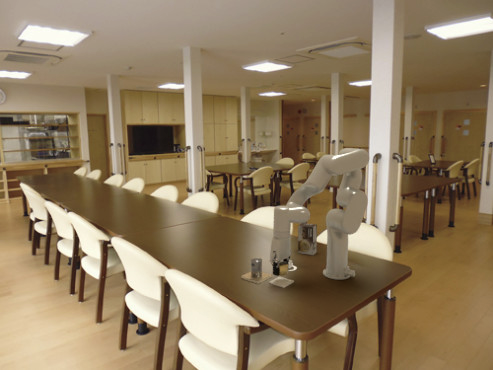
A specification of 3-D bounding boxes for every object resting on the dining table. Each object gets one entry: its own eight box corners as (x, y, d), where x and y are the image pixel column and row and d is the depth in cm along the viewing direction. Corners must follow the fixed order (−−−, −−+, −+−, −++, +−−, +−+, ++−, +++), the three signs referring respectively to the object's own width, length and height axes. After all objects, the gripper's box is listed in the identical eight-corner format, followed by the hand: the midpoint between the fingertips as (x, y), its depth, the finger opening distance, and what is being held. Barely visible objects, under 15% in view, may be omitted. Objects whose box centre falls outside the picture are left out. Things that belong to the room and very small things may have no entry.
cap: (283, 269, 161) (284, 259, 161) (290, 274, 155) (290, 263, 155) (271, 271, 159) (271, 260, 158) (277, 276, 153) (277, 265, 153)
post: (271, 277, 164) (271, 259, 163) (258, 284, 156) (258, 265, 155) (254, 271, 170) (254, 255, 169) (241, 278, 163) (241, 260, 162)
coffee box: (316, 252, 199) (317, 224, 196) (312, 255, 193) (313, 227, 191) (301, 249, 203) (302, 222, 201) (297, 252, 198) (297, 225, 196)
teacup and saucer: (287, 264, 182) (287, 256, 181) (300, 267, 177) (300, 259, 176) (277, 269, 175) (277, 261, 174) (291, 273, 170) (291, 264, 169)
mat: (293, 282, 159) (293, 280, 158) (283, 287, 152) (283, 286, 152) (279, 277, 164) (279, 276, 164) (269, 283, 158) (269, 281, 158)
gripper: (285, 228, 164) (284, 265, 166) (263, 236, 151) (262, 276, 153) (299, 231, 159) (298, 269, 161) (277, 239, 146) (276, 281, 148)
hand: (280, 272), depth 157 cm, fingers closed on cap, 6 cm apart
